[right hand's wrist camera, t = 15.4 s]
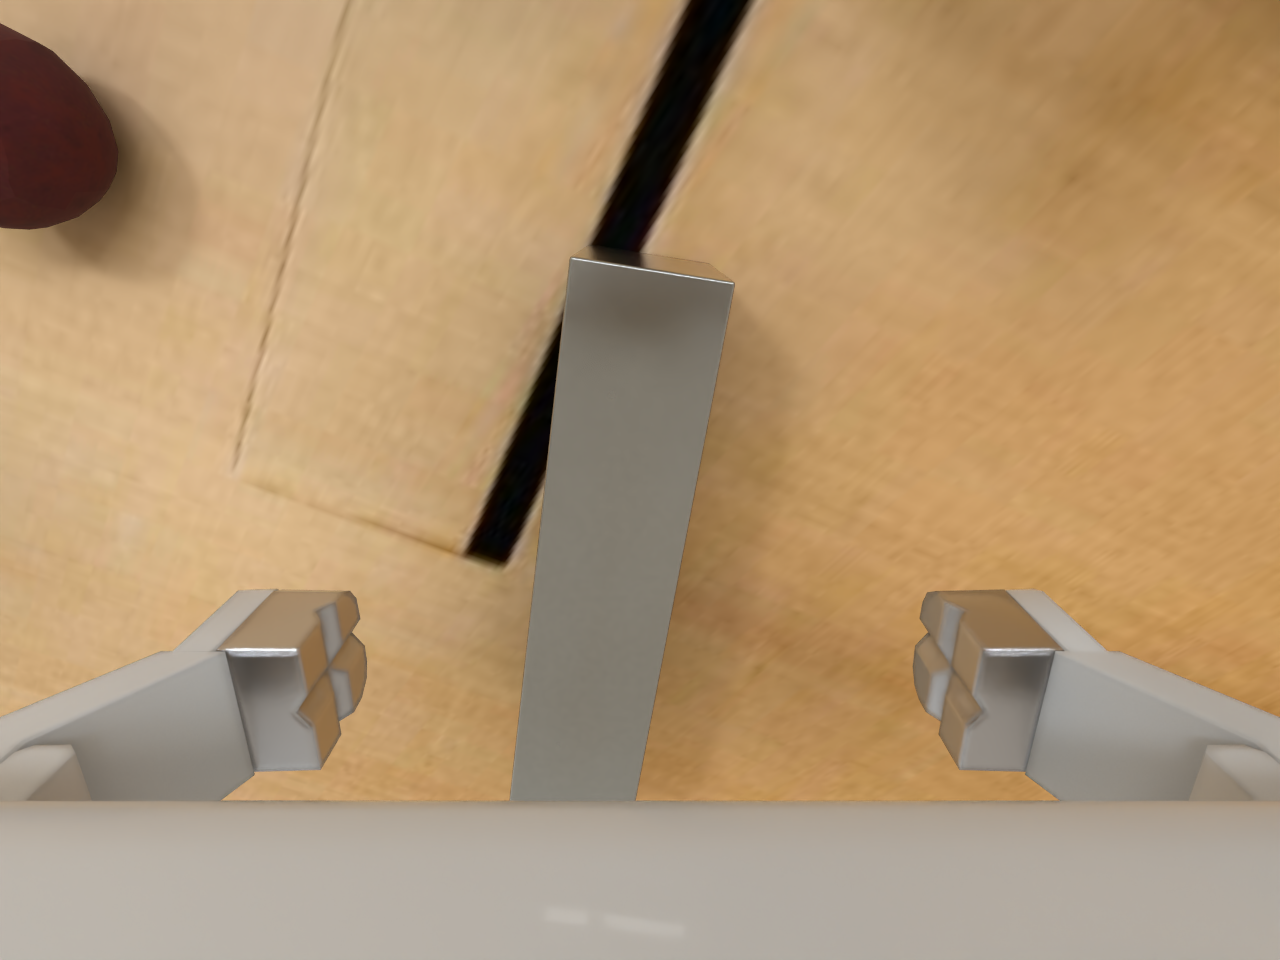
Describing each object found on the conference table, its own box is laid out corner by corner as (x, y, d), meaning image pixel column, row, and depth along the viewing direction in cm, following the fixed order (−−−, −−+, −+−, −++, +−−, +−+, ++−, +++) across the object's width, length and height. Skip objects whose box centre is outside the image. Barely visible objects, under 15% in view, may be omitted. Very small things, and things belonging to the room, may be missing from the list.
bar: (588, 244, 34) (569, 256, 25) (710, 263, 34) (735, 282, 25) (533, 706, 43) (505, 835, 34) (629, 718, 43) (626, 848, 34)
